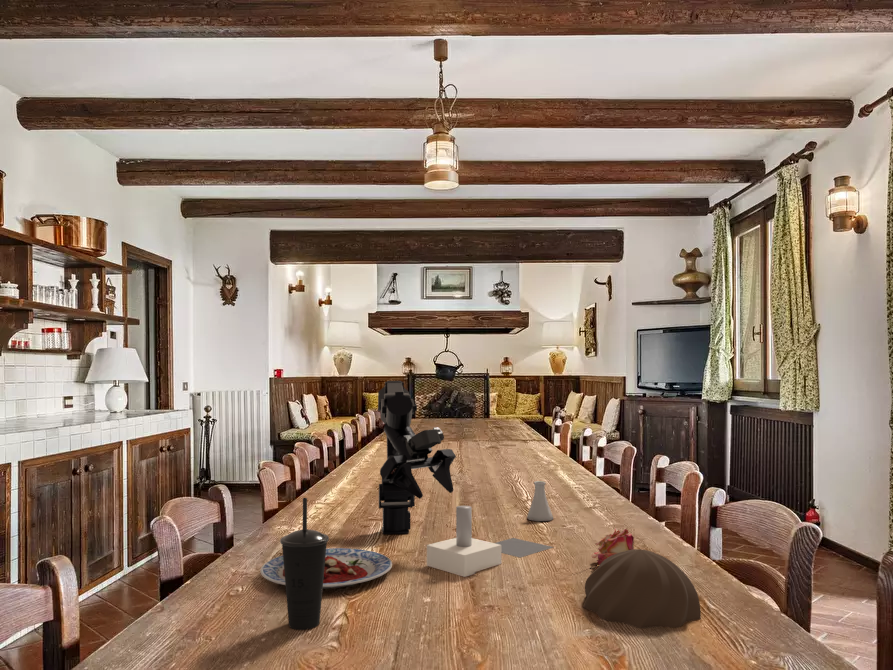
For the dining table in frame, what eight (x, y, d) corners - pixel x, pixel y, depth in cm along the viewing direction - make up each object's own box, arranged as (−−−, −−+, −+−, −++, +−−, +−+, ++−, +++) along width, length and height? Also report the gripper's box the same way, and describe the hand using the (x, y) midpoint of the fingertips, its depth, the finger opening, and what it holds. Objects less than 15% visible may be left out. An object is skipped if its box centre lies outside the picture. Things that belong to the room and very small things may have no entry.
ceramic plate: (277, 606, 118) (278, 589, 118) (248, 568, 140) (248, 553, 141) (413, 584, 129) (413, 569, 130) (365, 552, 152) (365, 539, 152)
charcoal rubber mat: (479, 548, 154) (479, 547, 154) (513, 539, 162) (513, 537, 162) (520, 559, 145) (520, 557, 145) (553, 548, 154) (553, 547, 154)
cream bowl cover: (426, 565, 141) (426, 507, 142) (463, 555, 149) (463, 500, 149) (464, 576, 133) (464, 515, 134) (501, 565, 141) (501, 507, 142)
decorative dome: (720, 630, 106) (719, 565, 107) (593, 629, 107) (593, 565, 107) (680, 590, 126) (679, 535, 126) (573, 589, 126) (572, 535, 127)
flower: (648, 556, 141) (626, 522, 144) (646, 558, 133) (622, 522, 136) (609, 580, 142) (587, 546, 146) (604, 584, 134) (582, 548, 137)
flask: (552, 522, 180) (552, 484, 181) (525, 521, 182) (525, 483, 182) (554, 516, 187) (553, 480, 188) (527, 515, 189) (527, 479, 189)
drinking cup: (283, 616, 112) (284, 494, 113) (330, 614, 113) (330, 493, 114) (275, 634, 105) (277, 503, 106) (325, 632, 105) (326, 502, 106)
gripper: (388, 418, 146) (423, 475, 137) (450, 414, 159) (485, 466, 150) (365, 452, 151) (397, 509, 142) (427, 445, 164) (460, 497, 155)
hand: (437, 494), depth 147 cm, fingers open, 9 cm apart
